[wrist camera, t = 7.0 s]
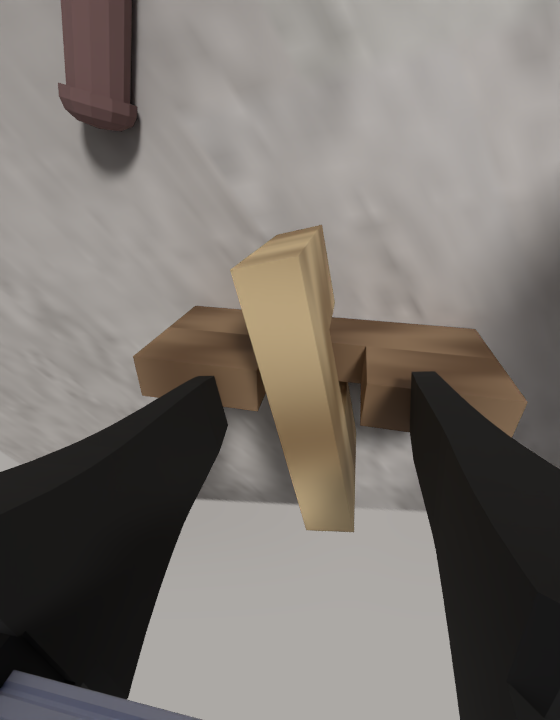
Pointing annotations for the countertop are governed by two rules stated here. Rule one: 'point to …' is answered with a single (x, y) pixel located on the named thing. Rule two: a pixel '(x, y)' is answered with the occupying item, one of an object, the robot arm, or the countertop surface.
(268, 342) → the light wooden block
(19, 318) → the countertop surface
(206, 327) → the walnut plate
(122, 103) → the toilet paper hanger
